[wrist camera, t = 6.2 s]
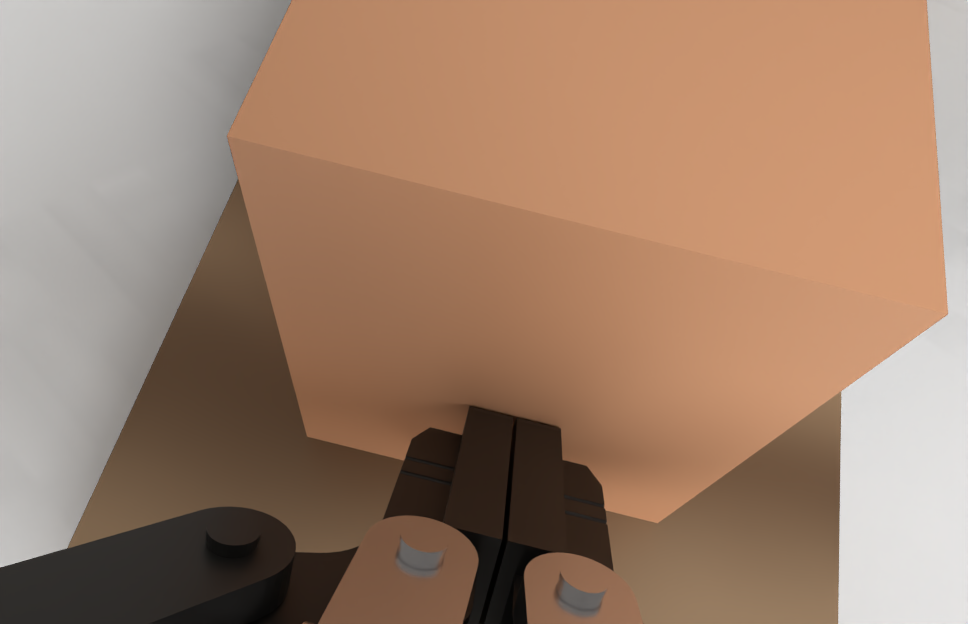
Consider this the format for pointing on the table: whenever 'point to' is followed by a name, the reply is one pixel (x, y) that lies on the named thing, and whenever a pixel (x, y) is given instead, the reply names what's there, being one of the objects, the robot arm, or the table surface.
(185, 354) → the square wooden plinth
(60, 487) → the table surface
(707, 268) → the terracotta block
